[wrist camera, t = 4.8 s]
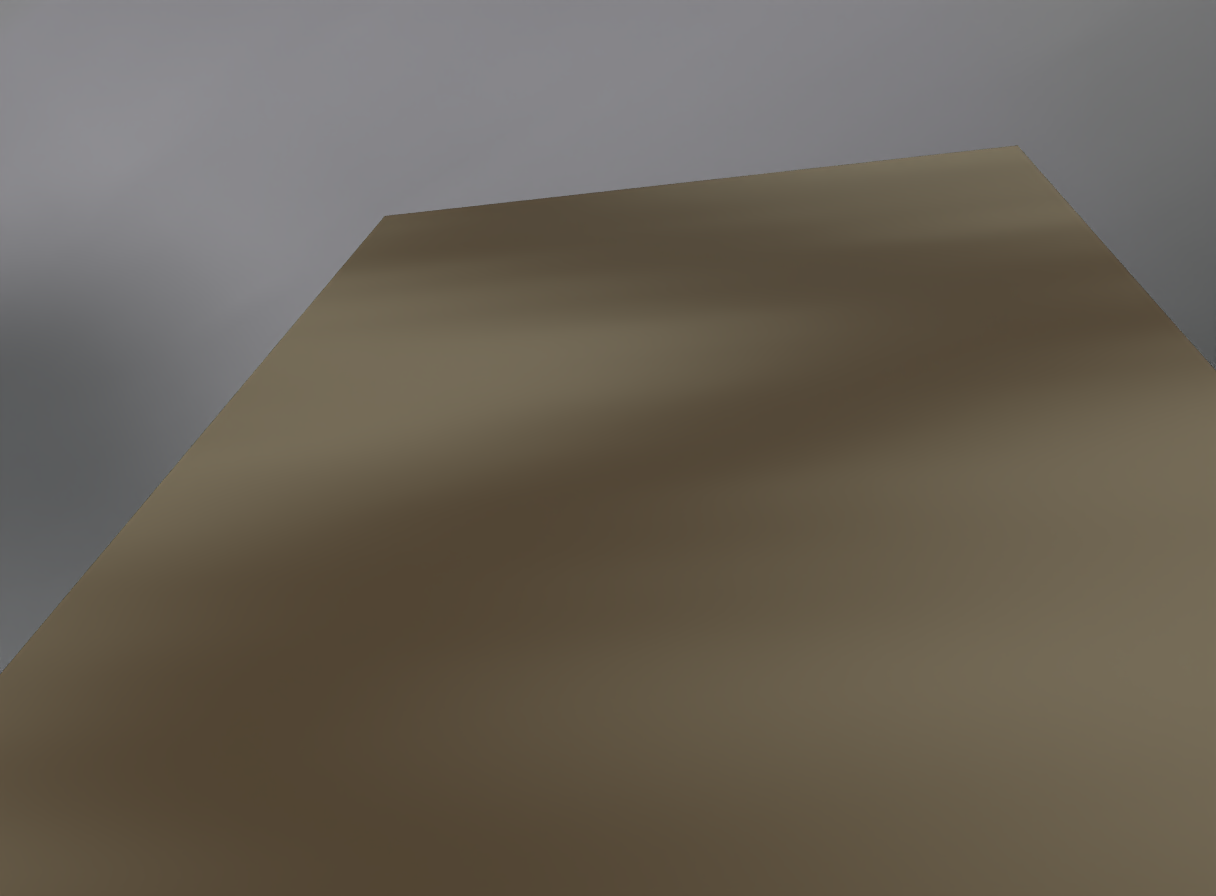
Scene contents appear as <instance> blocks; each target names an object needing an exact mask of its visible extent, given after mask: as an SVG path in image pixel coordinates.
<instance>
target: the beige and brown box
mask: <svg viewBox="0 0 1216 896" xmlns="http://www.w3.org/2000/svg"><path fill="white" fill-rule="evenodd" d="M0 896H1216V371H1215V369H1214V368H1213V367H1212V366H1211V365H1210V364H1209V363H1208V361H1207V360H1206V359H1205V358H1204V357H1203V356H1202V355H1201V353H1200V352H1199V351H1198V350H1197V349H1196V348H1195V347H1194V346H1193V344H1192V343H1191V342H1190V341H1189V340H1188V339H1187V338H1186V336H1185V335H1184V334H1183V333H1182V332H1181V331H1180V330H1179V328H1178V327H1177V326H1176V325H1175V324H1174V323H1173V322H1172V321H1171V319H1170V318H1169V317H1168V316H1167V315H1166V314H1165V313H1164V311H1163V310H1162V309H1161V308H1160V307H1159V306H1158V305H1157V304H1156V302H1155V301H1154V300H1153V299H1152V298H1151V297H1150V296H1149V294H1148V293H1147V292H1146V291H1145V290H1144V289H1143V288H1142V286H1141V285H1140V284H1139V283H1138V282H1137V281H1136V280H1135V279H1134V277H1133V276H1132V275H1131V274H1130V273H1129V272H1128V271H1127V269H1126V268H1125V267H1124V266H1123V265H1122V264H1121V263H1120V261H1119V260H1118V259H1117V258H1116V257H1115V256H1114V255H1113V254H1112V252H1111V251H1110V250H1109V249H1108V248H1107V247H1106V246H1105V244H1104V243H1103V242H1102V241H1101V240H1100V239H1099V238H1098V237H1097V235H1096V234H1095V233H1094V232H1093V231H1092V230H1091V229H1090V227H1089V226H1088V225H1087V224H1086V223H1085V222H1084V221H1083V219H1082V218H1081V217H1080V216H1079V215H1078V214H1077V213H1076V212H1075V210H1074V209H1073V208H1072V207H1071V206H1070V205H1069V204H1068V202H1067V201H1066V200H1065V199H1064V198H1063V197H1062V196H1061V194H1060V193H1059V192H1058V191H1057V190H1056V189H1055V188H1054V187H1053V185H1052V184H1051V183H1050V182H1049V181H1048V180H1047V179H1046V177H1045V176H1044V175H1043V174H1042V173H1041V172H1040V171H1039V170H1038V168H1037V167H1036V166H1035V165H1034V164H1033V163H1032V162H1031V160H1030V159H1029V158H1028V157H1027V156H1026V155H1025V154H1024V152H1023V151H1022V150H1021V149H1020V148H1019V147H1018V146H1009V147H1000V148H991V149H982V150H973V151H964V152H955V153H946V154H937V155H928V156H919V157H910V158H901V159H892V160H883V161H874V162H865V163H856V164H847V165H838V166H829V167H820V168H811V169H802V170H793V171H785V172H776V173H767V174H758V175H749V176H740V177H731V178H722V179H713V180H704V181H695V182H686V183H677V184H668V185H659V186H650V187H641V188H632V189H623V190H614V191H605V192H596V193H587V194H578V195H569V196H560V197H551V198H543V199H534V200H525V201H516V202H507V203H498V204H489V205H480V206H471V207H462V208H453V209H444V210H435V211H426V212H417V213H408V214H399V215H390V216H384V218H383V219H382V220H381V221H380V222H379V224H378V225H377V226H376V227H375V228H374V230H373V231H372V232H371V233H370V234H369V235H368V237H367V238H366V239H365V240H364V241H363V243H362V244H361V245H360V246H359V247H358V249H357V250H356V251H355V252H354V253H353V255H352V256H351V257H350V258H349V259H348V261H347V262H346V263H345V264H344V265H343V266H342V268H341V269H340V270H339V271H338V272H337V274H336V275H335V276H334V277H333V278H332V280H331V281H330V282H329V283H328V284H327V286H326V287H325V288H324V289H323V290H322V291H321V293H320V294H319V295H318V296H317V297H316V299H315V300H314V301H313V302H312V303H311V305H310V306H309V307H308V308H307V309H306V311H305V312H304V313H303V314H302V315H301V317H300V318H299V319H298V320H297V321H296V322H295V324H294V325H293V326H292V327H291V328H290V330H289V331H288V332H287V333H286V334H285V336H284V337H283V338H282V339H281V340H280V342H279V343H278V344H277V345H276V346H275V347H274V349H273V350H272V351H271V352H270V353H269V355H268V356H267V357H266V358H265V359H264V361H263V362H262V363H261V364H260V365H259V367H258V368H257V369H256V370H255V371H254V373H253V374H252V375H251V376H250V377H249V378H248V380H247V381H246V382H245V383H244V384H243V386H242V387H241V388H240V389H239V390H238V392H237V393H236V394H235V395H234V396H233V398H232V399H231V400H230V401H229V402H228V403H227V405H226V406H225V407H224V408H223V409H222V411H221V412H220V413H219V414H218V415H217V417H216V418H215V419H214V420H213V421H212V423H211V424H210V425H209V426H208V427H207V429H206V430H205V431H204V432H203V433H202V434H201V436H200V437H199V438H198V439H197V440H196V442H195V443H194V444H193V445H192V446H191V448H190V449H189V450H188V451H187V452H186V454H185V455H184V456H183V457H182V458H181V459H180V461H179V462H178V463H177V464H176V465H175V467H174V468H173V469H172V470H171V471H170V473H169V474H168V475H167V476H166V477H165V479H164V480H163V481H162V482H161V483H160V485H159V486H158V487H157V488H156V489H155V490H154V492H153V493H152V494H151V495H150V496H149V498H148V499H147V500H146V501H145V502H144V504H143V505H142V506H141V507H140V508H139V510H138V511H137V512H136V513H135V514H134V515H133V517H132V518H131V519H130V520H129V521H128V523H127V524H126V525H125V526H124V527H123V529H122V530H121V531H120V532H119V533H118V535H117V536H116V537H115V538H114V539H113V540H112V542H111V543H110V544H109V545H108V546H107V548H106V549H105V550H104V551H103V552H102V554H101V555H100V556H99V557H98V558H97V560H96V561H95V562H94V563H93V564H92V566H91V567H90V568H89V569H88V570H87V571H86V573H85V574H84V575H83V576H82V577H81V579H80V580H79V581H78V582H77V583H76V585H75V586H74V587H73V588H72V589H71V591H70V592H69V593H68V594H67V595H66V596H65V598H64V599H63V600H62V601H61V602H60V604H59V605H58V606H57V607H56V608H55V610H54V611H53V612H52V613H51V614H50V616H49V617H48V618H47V619H46V620H45V622H44V623H43V624H42V625H41V626H40V627H39V629H38V630H37V631H36V632H35V633H34V635H33V636H32V637H31V638H30V639H29V641H28V642H27V643H26V644H25V645H24V647H23V648H22V649H21V650H20V651H19V652H18V654H17V655H16V656H15V657H14V658H13V660H12V661H11V662H10V663H9V664H8V666H7V667H6V668H5V669H4V670H3V672H2V673H1V674H0Z"/></svg>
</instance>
